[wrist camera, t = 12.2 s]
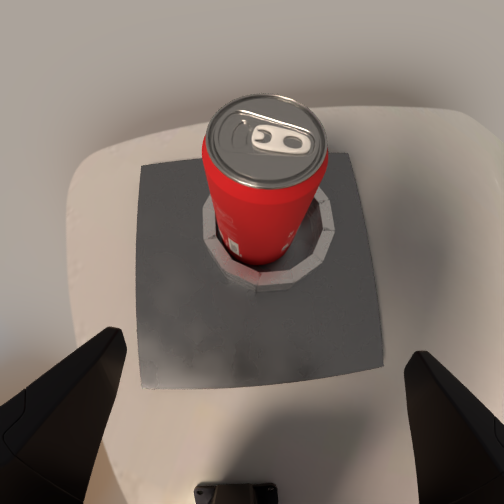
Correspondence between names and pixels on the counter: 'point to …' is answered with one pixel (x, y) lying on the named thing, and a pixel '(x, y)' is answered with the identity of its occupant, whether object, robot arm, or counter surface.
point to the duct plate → (234, 317)
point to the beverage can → (263, 172)
